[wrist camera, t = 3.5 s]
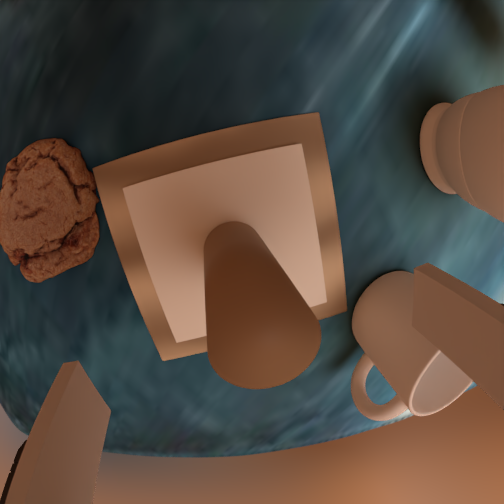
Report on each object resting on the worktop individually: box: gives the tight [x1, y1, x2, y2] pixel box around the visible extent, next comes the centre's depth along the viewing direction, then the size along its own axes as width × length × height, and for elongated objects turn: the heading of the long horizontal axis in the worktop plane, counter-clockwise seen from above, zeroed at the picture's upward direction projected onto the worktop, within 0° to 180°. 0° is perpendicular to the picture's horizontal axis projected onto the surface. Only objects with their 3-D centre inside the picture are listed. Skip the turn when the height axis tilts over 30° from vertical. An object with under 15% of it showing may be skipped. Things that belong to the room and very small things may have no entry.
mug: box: [351, 271, 473, 421], centre depth 21 cm, size 12×8×10 cm
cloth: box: [92, 112, 347, 361], centre depth 21 cm, size 16×16×1 cm
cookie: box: [0, 138, 99, 282], centre depth 17 cm, size 10×11×3 cm
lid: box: [123, 143, 327, 389], centre depth 16 cm, size 12×12×12 cm
